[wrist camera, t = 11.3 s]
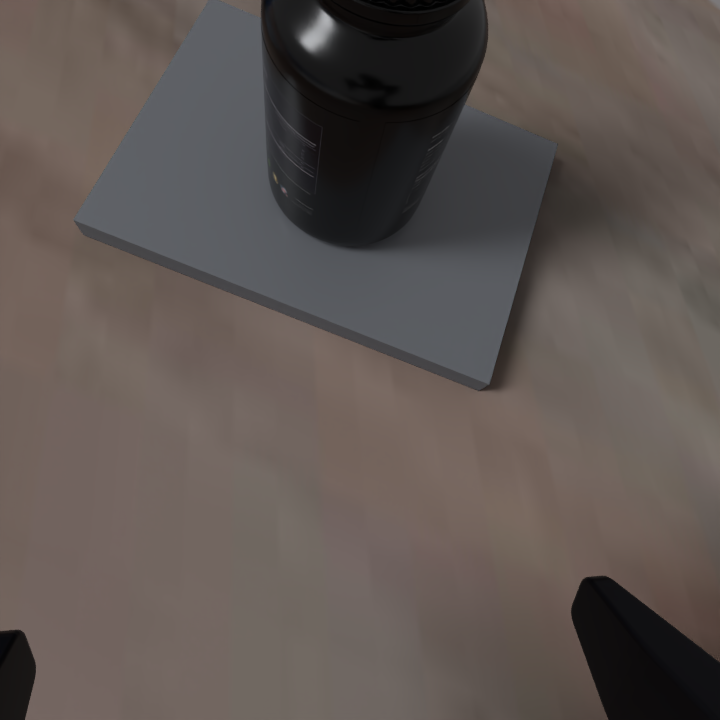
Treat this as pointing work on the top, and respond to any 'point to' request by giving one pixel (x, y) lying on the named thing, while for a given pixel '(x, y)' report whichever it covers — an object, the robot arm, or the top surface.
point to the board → (301, 251)
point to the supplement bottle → (363, 106)
